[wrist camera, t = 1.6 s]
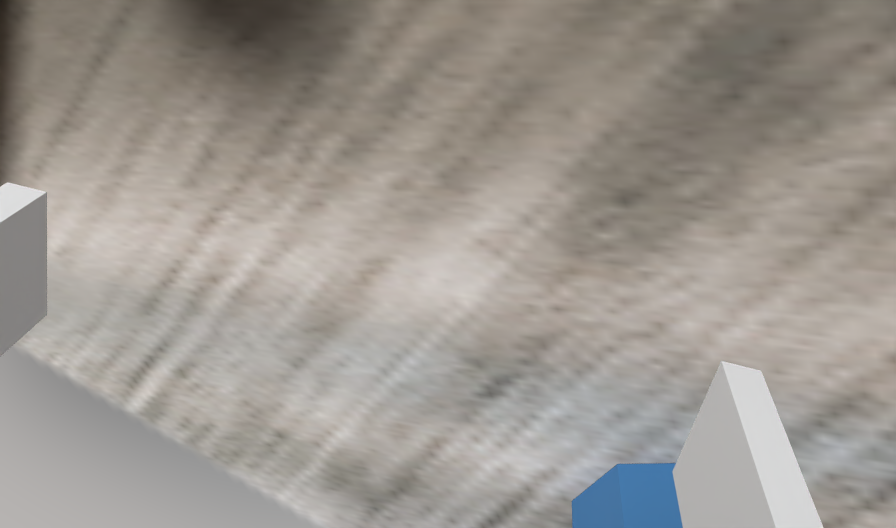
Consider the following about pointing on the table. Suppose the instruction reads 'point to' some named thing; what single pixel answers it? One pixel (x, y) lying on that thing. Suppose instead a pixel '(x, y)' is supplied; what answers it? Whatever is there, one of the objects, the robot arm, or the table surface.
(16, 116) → the table surface
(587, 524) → the water bottle
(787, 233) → the table surface
